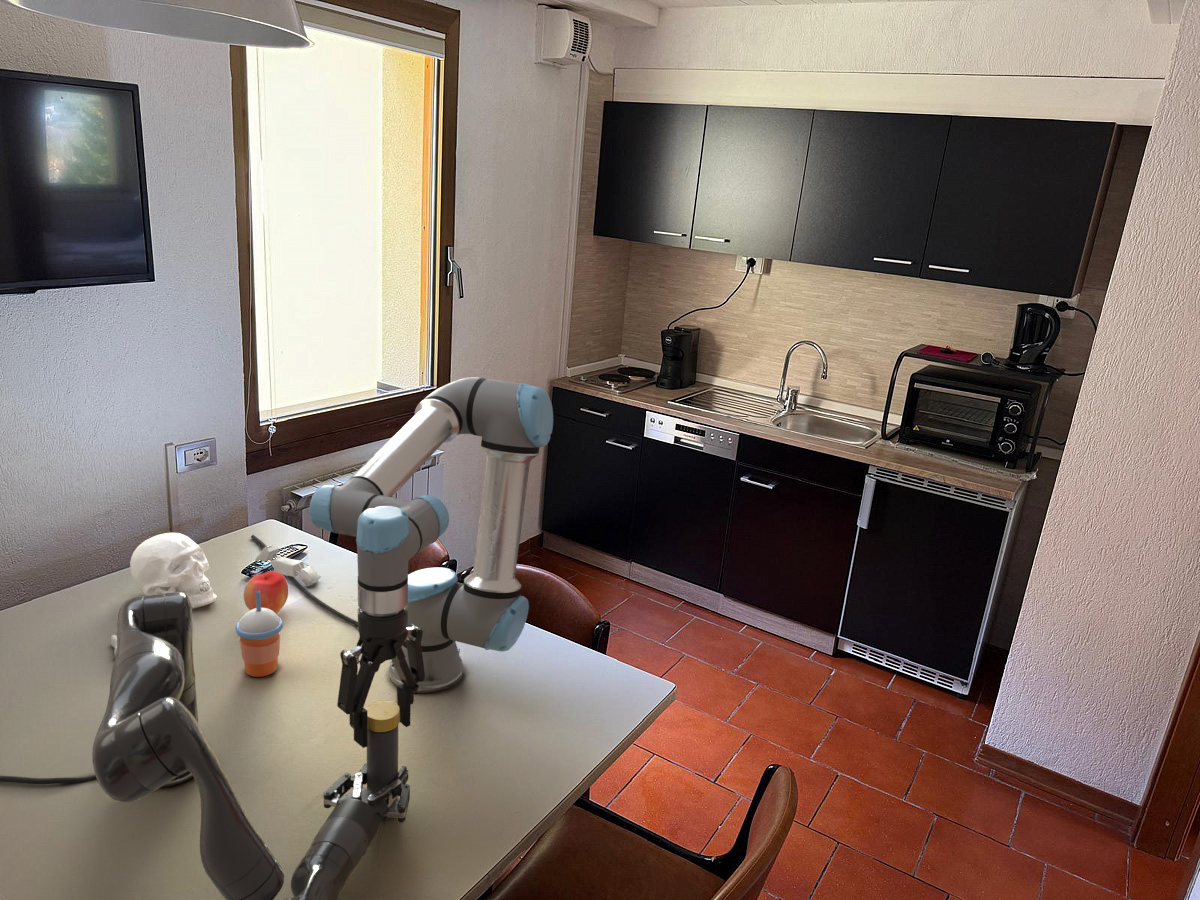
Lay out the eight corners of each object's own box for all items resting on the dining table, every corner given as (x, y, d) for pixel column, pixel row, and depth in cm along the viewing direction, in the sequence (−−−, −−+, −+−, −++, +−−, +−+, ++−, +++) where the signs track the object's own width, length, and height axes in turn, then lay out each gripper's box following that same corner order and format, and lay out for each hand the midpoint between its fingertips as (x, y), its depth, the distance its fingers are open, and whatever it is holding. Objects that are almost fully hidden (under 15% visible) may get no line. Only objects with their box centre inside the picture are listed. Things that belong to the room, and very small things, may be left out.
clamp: (253, 565, 223) (254, 542, 221) (265, 560, 226) (266, 537, 224) (309, 593, 215) (310, 569, 213) (320, 588, 218) (321, 564, 216)
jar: (384, 794, 146) (384, 700, 141) (403, 808, 143) (405, 713, 138) (360, 809, 142) (360, 713, 137) (380, 824, 140) (380, 726, 134)
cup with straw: (268, 684, 174) (265, 605, 169) (228, 676, 176) (224, 597, 170) (293, 661, 183) (290, 585, 177) (254, 654, 184) (250, 578, 179)
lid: (362, 715, 139) (362, 703, 139) (396, 709, 141) (396, 697, 141) (367, 735, 134) (367, 722, 134) (402, 729, 137) (403, 716, 136)
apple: (273, 600, 207) (272, 562, 204) (297, 613, 202) (296, 575, 199) (237, 614, 200) (234, 575, 197) (261, 628, 194) (259, 588, 191)
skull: (195, 618, 196) (192, 554, 192) (118, 599, 202) (114, 537, 198) (235, 596, 208) (233, 535, 204) (161, 578, 214) (158, 519, 210)
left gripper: (389, 827, 125) (429, 755, 142) (297, 810, 127) (348, 741, 143) (389, 868, 128) (429, 793, 144) (299, 850, 130) (348, 778, 146)
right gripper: (422, 579, 141) (420, 698, 148) (309, 617, 127) (313, 748, 134) (450, 595, 137) (447, 718, 143) (337, 637, 122) (339, 771, 129)
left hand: (388, 767), depth 144 cm, fingers closed on jar, 5 cm apart
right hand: (382, 732), depth 139 cm, fingers open, 7 cm apart
